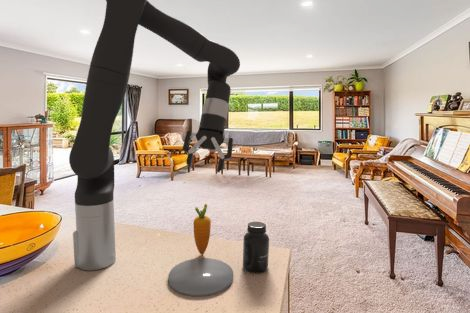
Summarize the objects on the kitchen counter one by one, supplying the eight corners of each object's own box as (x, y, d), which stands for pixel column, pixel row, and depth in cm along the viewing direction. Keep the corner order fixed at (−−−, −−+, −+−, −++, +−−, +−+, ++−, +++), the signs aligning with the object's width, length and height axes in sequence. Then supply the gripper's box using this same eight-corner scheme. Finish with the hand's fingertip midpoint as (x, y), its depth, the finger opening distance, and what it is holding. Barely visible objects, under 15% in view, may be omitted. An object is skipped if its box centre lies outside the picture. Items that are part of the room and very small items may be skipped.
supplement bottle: (266, 275, 73) (268, 230, 72) (240, 272, 74) (241, 228, 73) (269, 262, 80) (270, 221, 78) (245, 260, 81) (245, 219, 80)
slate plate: (161, 296, 64) (161, 292, 64) (175, 261, 80) (175, 257, 80) (233, 296, 64) (233, 292, 64) (233, 261, 80) (233, 258, 80)
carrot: (194, 259, 81) (194, 208, 79) (192, 252, 86) (192, 203, 84) (212, 257, 82) (212, 206, 80) (208, 250, 87) (209, 202, 85)
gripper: (188, 108, 82) (177, 164, 80) (237, 116, 82) (227, 172, 79) (192, 116, 90) (182, 167, 87) (237, 123, 89) (228, 175, 87)
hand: (203, 169), depth 83 cm, fingers open, 8 cm apart
